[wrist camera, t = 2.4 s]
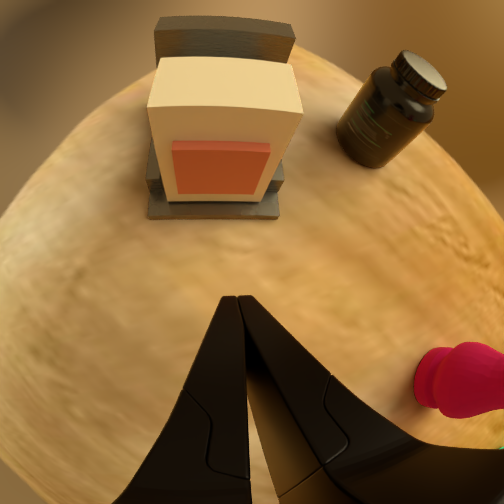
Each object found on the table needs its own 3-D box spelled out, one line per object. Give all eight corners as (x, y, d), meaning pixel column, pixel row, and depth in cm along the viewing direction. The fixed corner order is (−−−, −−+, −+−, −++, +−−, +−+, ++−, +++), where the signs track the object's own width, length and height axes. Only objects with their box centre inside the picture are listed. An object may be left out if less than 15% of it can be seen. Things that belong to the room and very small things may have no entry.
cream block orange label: (261, 208, 21) (305, 123, 11) (167, 208, 19) (144, 117, 10) (257, 158, 22) (291, 64, 12) (171, 156, 21) (160, 57, 11)
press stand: (277, 219, 22) (328, 147, 12) (149, 219, 20) (115, 141, 11) (264, 102, 25) (290, 24, 15) (165, 99, 23) (160, 17, 14)
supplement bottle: (364, 115, 27) (417, 46, 16) (398, 162, 26) (466, 100, 15) (322, 123, 26) (374, 37, 14) (358, 177, 25) (435, 100, 13)
